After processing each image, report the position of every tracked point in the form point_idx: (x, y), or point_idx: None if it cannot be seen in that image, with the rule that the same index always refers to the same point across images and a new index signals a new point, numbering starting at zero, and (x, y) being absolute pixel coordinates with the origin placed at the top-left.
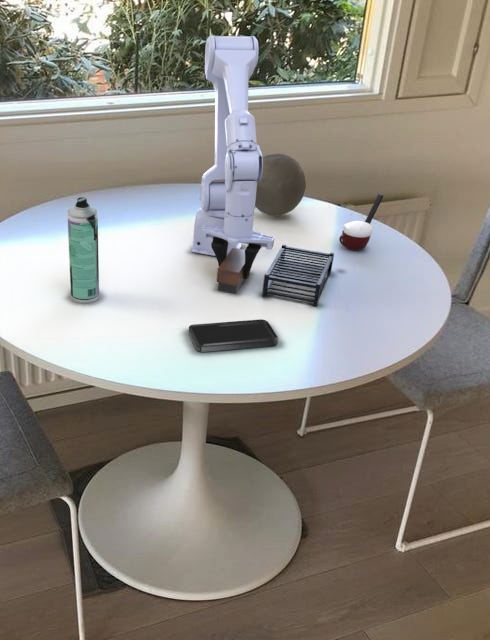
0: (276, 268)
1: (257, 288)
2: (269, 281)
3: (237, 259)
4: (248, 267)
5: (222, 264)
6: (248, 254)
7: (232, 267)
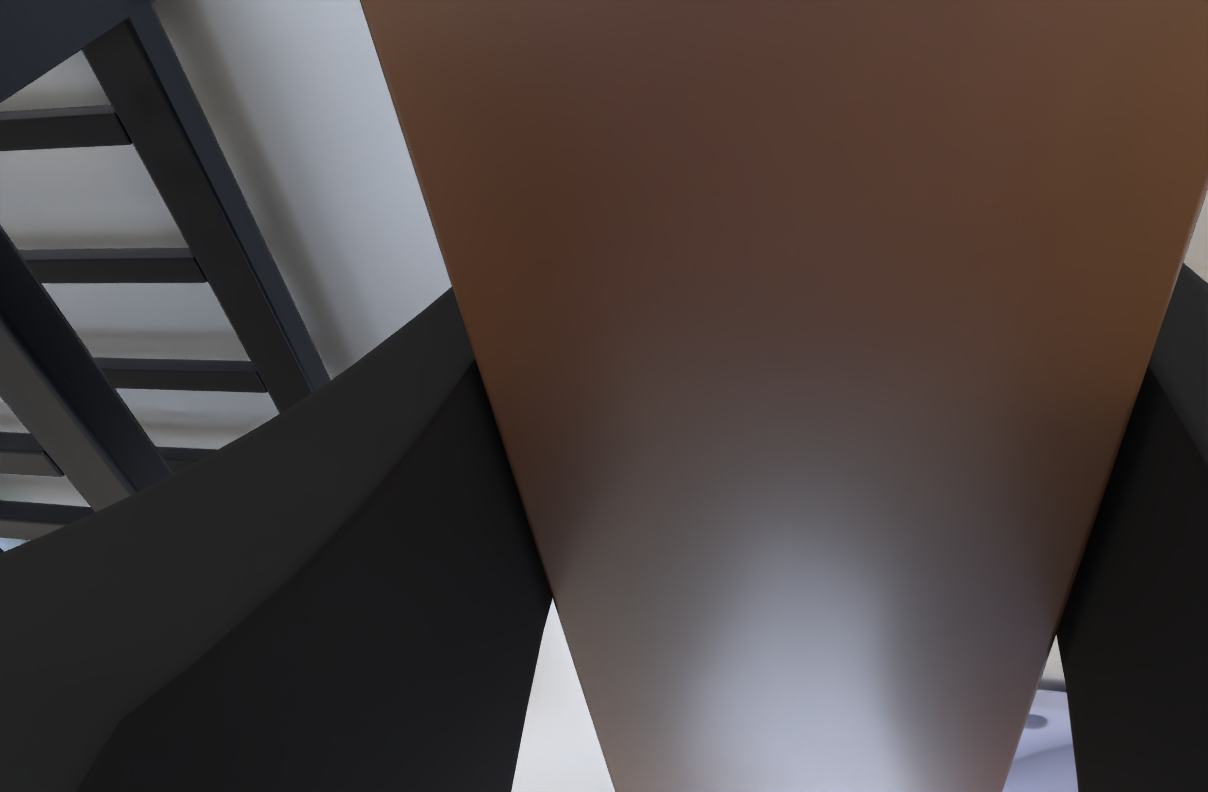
0: (18, 472)
1: (392, 158)
2: (254, 310)
3: (745, 552)
4: (387, 344)
5: (1136, 156)
6: (96, 624)
7: (693, 82)
